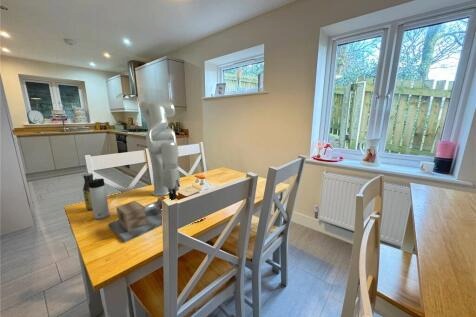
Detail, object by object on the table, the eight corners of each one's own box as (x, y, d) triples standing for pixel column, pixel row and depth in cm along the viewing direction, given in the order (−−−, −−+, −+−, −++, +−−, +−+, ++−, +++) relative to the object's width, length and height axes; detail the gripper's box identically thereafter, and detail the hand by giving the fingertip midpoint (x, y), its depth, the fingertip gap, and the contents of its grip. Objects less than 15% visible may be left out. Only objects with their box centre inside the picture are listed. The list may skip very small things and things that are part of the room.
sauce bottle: (85, 208, 105) (79, 173, 101) (99, 205, 110) (93, 171, 105) (87, 212, 101) (80, 176, 96) (101, 208, 105) (95, 174, 101)
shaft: (161, 205, 101) (160, 195, 100) (167, 209, 98) (166, 198, 96) (132, 216, 90) (131, 204, 89) (138, 220, 87) (137, 208, 85)
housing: (158, 207, 107) (156, 190, 104) (176, 218, 96) (175, 199, 93) (108, 226, 88) (105, 206, 86) (124, 242, 77) (121, 220, 75)
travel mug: (102, 221, 93) (95, 181, 89) (91, 219, 94) (84, 180, 90) (113, 214, 99) (107, 177, 95) (102, 213, 100) (96, 176, 96)
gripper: (155, 165, 100) (159, 198, 104) (171, 169, 91) (174, 205, 95) (168, 162, 106) (171, 193, 110) (185, 166, 97) (187, 200, 101)
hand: (173, 199), depth 102 cm, fingers closed
